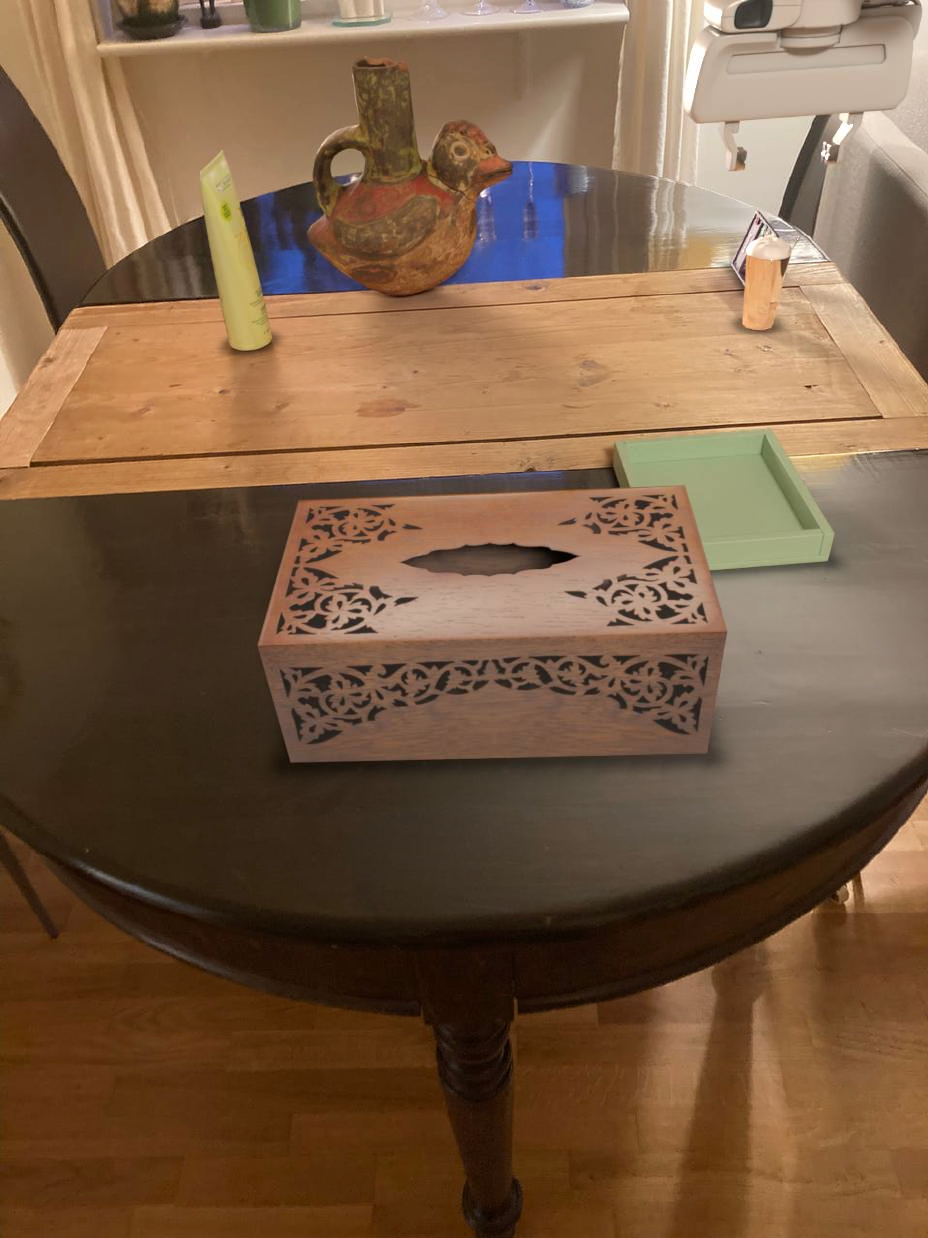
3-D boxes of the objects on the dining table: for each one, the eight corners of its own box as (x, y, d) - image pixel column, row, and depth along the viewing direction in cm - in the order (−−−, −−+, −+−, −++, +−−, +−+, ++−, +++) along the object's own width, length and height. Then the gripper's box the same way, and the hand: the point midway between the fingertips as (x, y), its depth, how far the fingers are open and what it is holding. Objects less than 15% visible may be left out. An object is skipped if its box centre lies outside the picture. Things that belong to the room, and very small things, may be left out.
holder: (766, 454, 81) (771, 428, 80) (828, 561, 70) (835, 533, 68) (613, 466, 81) (614, 440, 80) (648, 575, 70) (650, 548, 68)
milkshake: (773, 338, 98) (789, 243, 92) (728, 326, 101) (740, 233, 95) (793, 323, 101) (810, 229, 94) (749, 312, 104) (763, 220, 97)
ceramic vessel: (507, 316, 107) (499, 70, 91) (295, 313, 111) (250, 78, 95) (525, 261, 120) (521, 37, 103) (334, 261, 124) (301, 46, 108)
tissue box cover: (290, 762, 58) (257, 645, 51) (322, 612, 69) (298, 500, 62) (706, 753, 56) (727, 631, 50) (672, 601, 67) (685, 485, 61)
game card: (750, 208, 110) (771, 233, 103) (789, 220, 111) (812, 246, 104) (725, 262, 114) (743, 291, 107) (762, 274, 115) (783, 302, 108)
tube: (282, 344, 105) (246, 159, 92) (242, 358, 103) (198, 170, 90) (261, 329, 109) (223, 149, 96) (221, 341, 107) (177, 159, 94)
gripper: (912, -17, 83) (875, 149, 92) (687, -1, 83) (672, 164, 92) (943, -7, 79) (901, 167, 88) (705, 10, 79) (687, 182, 88)
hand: (782, 165), depth 90 cm, fingers open, 8 cm apart
